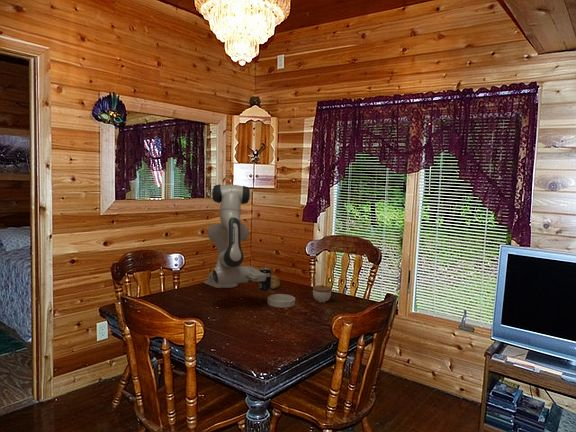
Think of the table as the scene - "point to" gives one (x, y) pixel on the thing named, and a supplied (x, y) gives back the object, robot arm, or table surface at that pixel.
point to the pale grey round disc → (281, 300)
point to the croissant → (274, 282)
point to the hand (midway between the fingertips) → (266, 273)
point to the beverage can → (265, 284)
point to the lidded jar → (322, 293)
